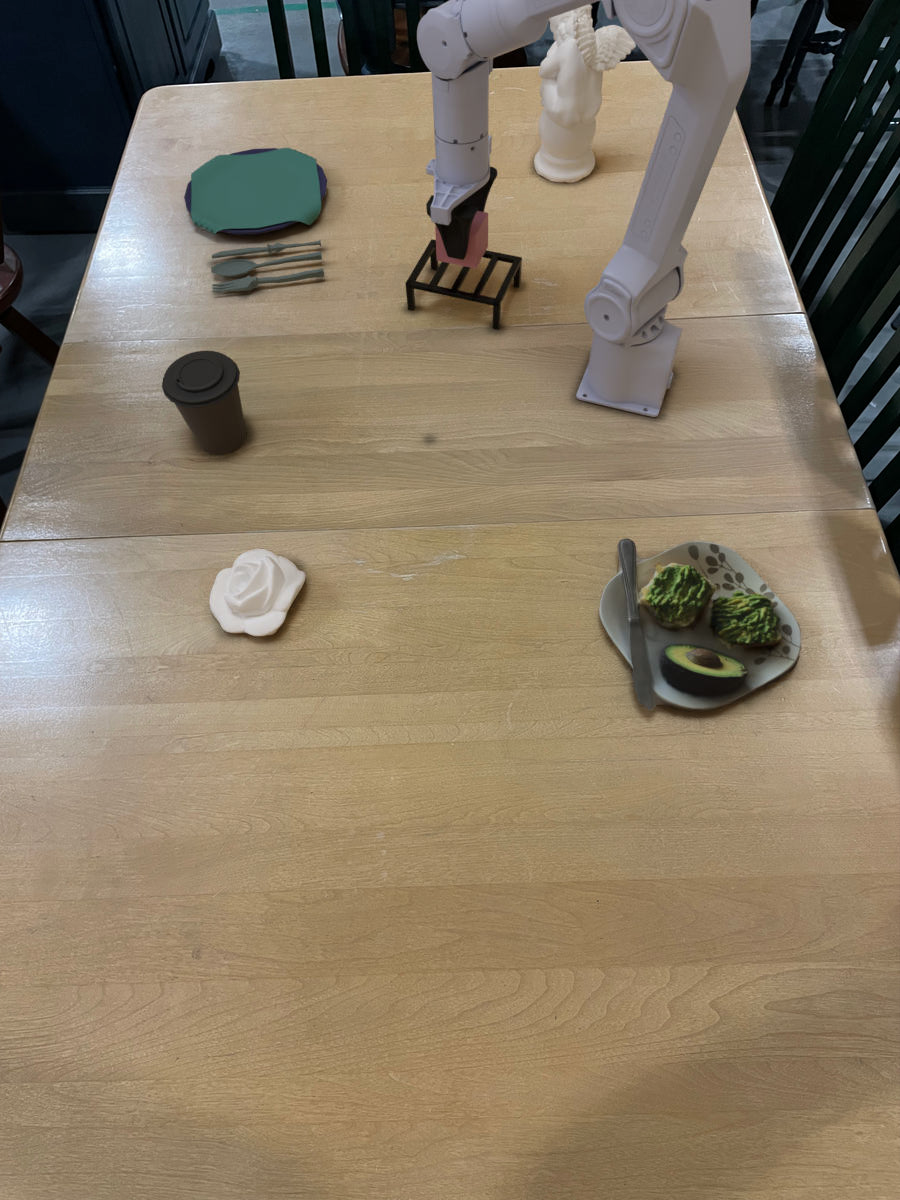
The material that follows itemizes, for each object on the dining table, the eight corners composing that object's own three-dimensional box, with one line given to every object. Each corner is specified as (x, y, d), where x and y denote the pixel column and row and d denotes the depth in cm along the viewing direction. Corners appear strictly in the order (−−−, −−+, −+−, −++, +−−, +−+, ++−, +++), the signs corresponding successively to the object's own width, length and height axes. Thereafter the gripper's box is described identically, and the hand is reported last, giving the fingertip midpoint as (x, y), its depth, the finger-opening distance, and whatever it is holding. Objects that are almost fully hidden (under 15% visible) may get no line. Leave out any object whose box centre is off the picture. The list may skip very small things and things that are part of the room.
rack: (520, 284, 108) (522, 257, 105) (498, 330, 104) (499, 303, 100) (432, 266, 111) (431, 238, 107) (407, 310, 106) (405, 283, 103)
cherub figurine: (537, 142, 125) (547, -31, 106) (622, 146, 124) (647, -28, 105) (529, 191, 118) (539, 16, 100) (619, 196, 117) (645, 20, 99)
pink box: (488, 246, 102) (488, 212, 99) (476, 269, 100) (476, 235, 96) (449, 238, 103) (448, 204, 100) (436, 260, 101) (434, 226, 97)
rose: (316, 597, 79) (215, 635, 77) (323, 621, 83) (227, 658, 81) (284, 519, 84) (188, 553, 82) (292, 545, 87) (201, 578, 86)
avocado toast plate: (549, 580, 84) (553, 553, 80) (700, 514, 88) (710, 485, 84) (658, 743, 75) (668, 722, 71) (821, 662, 78) (839, 637, 75)
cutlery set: (324, 153, 125) (321, 137, 123) (341, 283, 109) (338, 267, 107) (188, 169, 124) (184, 153, 122) (186, 302, 108) (180, 287, 106)
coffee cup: (173, 453, 95) (142, 387, 86) (210, 404, 99) (184, 335, 90) (236, 473, 93) (211, 407, 84) (271, 421, 97) (251, 354, 88)
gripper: (449, 88, 93) (452, 202, 105) (400, 160, 86) (409, 274, 98) (510, 98, 92) (507, 212, 104) (465, 172, 85) (467, 286, 96)
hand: (463, 243), depth 101 cm, fingers closed on pink box, 4 cm apart
